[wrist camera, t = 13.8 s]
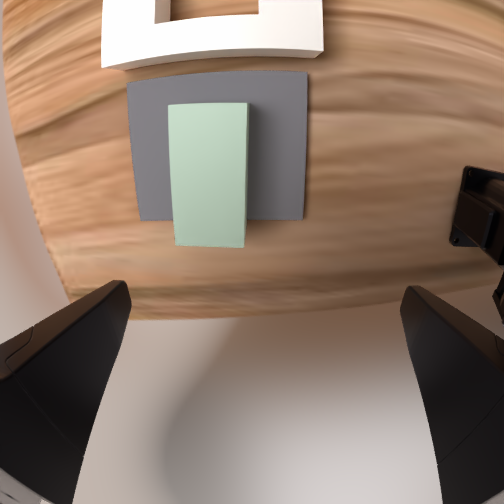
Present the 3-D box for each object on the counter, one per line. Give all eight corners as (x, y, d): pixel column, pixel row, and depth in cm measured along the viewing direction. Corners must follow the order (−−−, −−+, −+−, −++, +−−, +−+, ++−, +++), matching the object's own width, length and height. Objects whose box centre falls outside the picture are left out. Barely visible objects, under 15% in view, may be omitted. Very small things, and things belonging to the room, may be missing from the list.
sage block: (249, 102, 16) (247, 103, 14) (246, 226, 20) (243, 247, 17) (182, 103, 16) (168, 105, 14) (186, 224, 20) (175, 245, 17)
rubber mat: (305, 72, 16) (307, 72, 15) (301, 216, 20) (302, 220, 20) (130, 83, 16) (126, 82, 16) (143, 217, 21) (140, 221, 20)
